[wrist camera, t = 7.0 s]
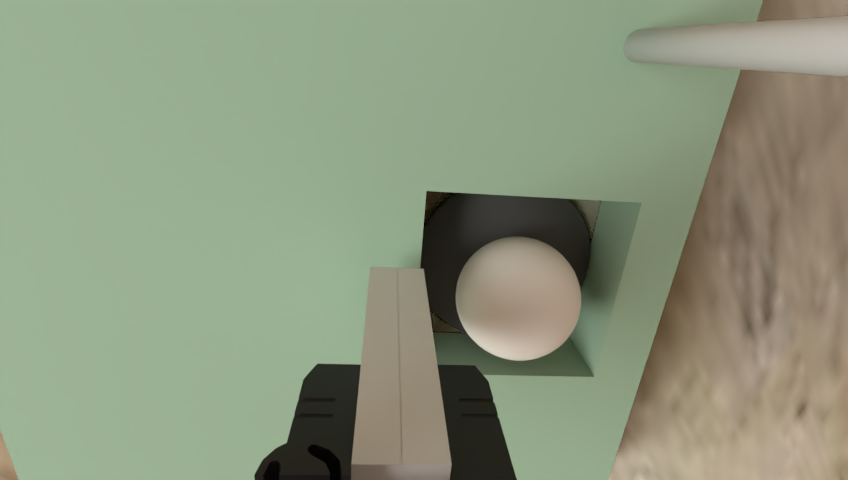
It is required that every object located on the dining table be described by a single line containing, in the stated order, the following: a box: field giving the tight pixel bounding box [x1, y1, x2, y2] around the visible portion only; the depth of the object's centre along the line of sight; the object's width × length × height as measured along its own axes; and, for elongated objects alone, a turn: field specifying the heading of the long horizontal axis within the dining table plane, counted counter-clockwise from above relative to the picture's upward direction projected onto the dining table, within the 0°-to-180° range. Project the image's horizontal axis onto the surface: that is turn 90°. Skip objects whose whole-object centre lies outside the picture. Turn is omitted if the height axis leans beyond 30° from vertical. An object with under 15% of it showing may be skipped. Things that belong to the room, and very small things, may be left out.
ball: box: [456, 237, 581, 361], centre depth 15 cm, size 4×4×4 cm
